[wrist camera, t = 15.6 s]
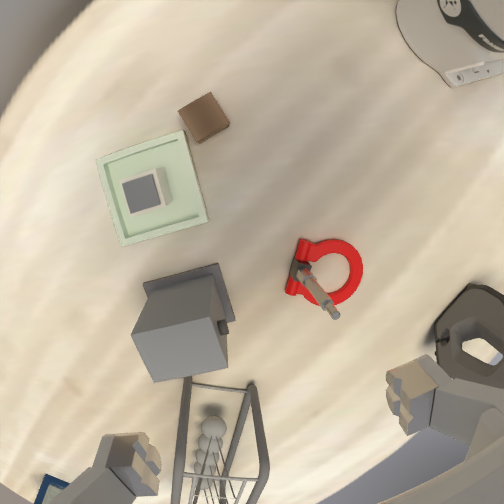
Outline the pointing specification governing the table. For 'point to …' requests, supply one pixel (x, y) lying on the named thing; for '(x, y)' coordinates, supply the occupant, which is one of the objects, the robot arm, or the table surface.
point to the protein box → (49, 489)
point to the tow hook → (306, 281)
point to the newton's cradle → (218, 449)
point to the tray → (180, 182)
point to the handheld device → (472, 335)
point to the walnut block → (204, 117)
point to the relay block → (146, 191)
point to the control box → (184, 324)
